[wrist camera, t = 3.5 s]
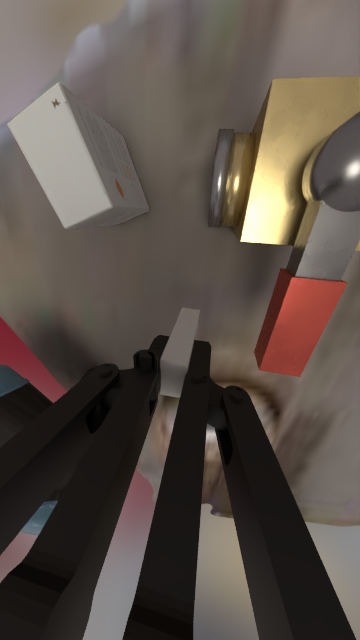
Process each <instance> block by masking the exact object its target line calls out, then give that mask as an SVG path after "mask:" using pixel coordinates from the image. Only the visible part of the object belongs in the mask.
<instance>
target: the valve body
mask: <svg viewBox="0 0 360 640" xmlns="http://www.w3.org/2000/svg"><path fill="white" fill-rule="evenodd" d="M358 112H360V76H350V77H318V78H286V79H273V80H272V82H271V85H270V87H269V90H268V93H267V95H266V98H265V100H264V103H263V105H262V108H261V110H260V113H259V116H258V118H257V121H256V123H255V126H254V128H253V131H252V133H246V132H234V134H233V141H232V149H231V156H230V163H229V170H228V177H227V184H226V191H225V198H224V204H223V211H222V217H221V224H220V226H234V229H233V234H234V235H235V236H236V237H237V238H238V239H239V240H240V241H242V242H255V243H267V244H280V245H293V246H294V244H295V241H296V238H297V235H298V232H299V229H300V226H301V223H302V220H303V217H304V214H305V210H306V207H307V204H308V203H307V201H306V199H305V197H304V194H303V190H302V179H303V173H304V170H305V167H306V164H307V162H308V160H309V158H310V156H311V154H312V153H313V151H314V150H315V148H316V147H317V146H318V145H319V144H320V142H321V141H322V140H323V139H324V138H325V137H326V136H328V135H329V134H330V133H331V132H333V131H334V130H335V129H337V128H338V127H339V126H341V125H342V124H343V123H345V122H346V121H347V120H349V119H350V118H351V117H353V116H354V115H355V114H357V113H358ZM355 250H357V251H360V241H359V243H358V245H357V247H356V249H355Z"/></svg>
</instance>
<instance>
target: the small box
mask: <svg viewBox="0 0 360 640" xmlns="http://www.w3.org/2000/svg"><path fill="white" fill-rule="evenodd" d="M7 125H8V127H9V129H10V131H11V132H12V134H13V136H14V138H15V140H16V141H17V143H18V145H19V147H20V149H21V151H22V152H23V154H24V156H25V158H26V159H27V161H28V163H29V165H30V167H31V168H32V170H33V172H34V174H35V176H36V177H37V179H38V181H39V183H40V185H41V187H42V188H43V190H44V192H45V194H46V196H47V197H48V199H49V201H50V203H51V205H52V207H53V208H54V210H55V212H56V214H57V216H58V217H59V219H60V221H61V223H62V225H63V227H64V228H65V229H79V228H90V227H102V226H113V225H118V224H121V223H123V222H125V221H128V220H130V219H132V218H134V217H137V216H139V215H141V214H143V213H146V212H148V211H150V209H149V206H148V203H147V201H146V198H145V195H144V192H143V189H142V187H141V184H140V181H139V178H138V176H137V173H136V170H135V167H134V165H133V162H132V159H131V157H130V154H129V151H128V148H127V145H126V142H125V139H124V137H123V136H122V135H121V134H120V133H119V132H117V131H116V130H115V129H114V128H113V127H112V126H111V125H109V124H108V123H107V122H106V121H105V120H103V119H102V118H101V117H100V116H99V115H98V114H96V113H95V112H94V111H93V110H92V109H90V108H89V107H88V106H87V105H86V104H85V103H83V102H82V101H81V100H80V99H79V98H78V97H76V96H75V95H74V94H73V93H72V92H71V91H69V90H68V89H67V88H66V87H65V86H63V85H62V84H61V83H60V82H58V83H56V84H55V85H54V86H53V87H51V88H50V89H49V90H48V91H46V92H45V93H44V94H43V95H41V96H40V97H39V98H38V99H37V100H35V101H34V102H33V103H32V104H30V105H29V106H28V107H27V108H26V109H24V110H23V111H22V112H21V113H19V114H18V115H17V116H16V117H15V118H13V119H12V120H11V121H10V122H9V123H8V124H7Z"/></svg>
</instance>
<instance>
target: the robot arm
mask: <svg viewBox="0 0 360 640" xmlns="http://www.w3.org/2000/svg"><path fill="white" fill-rule="evenodd" d="M199 315H200V310H197V309H189V308H182V309H181V312H180V314H179V316H178V319H177V321H176V323H175V326H174V328H173V330H172V333H171V335H170V336H163V335H159V336H157V337H156V338H154V340H153V342H152V344H151V346H150V348H149V349H148V350H140V351H138V352H136V353H135V354H134V355H133V357H134V368H132V369H126V370H119V369H118V367H117V366H116V365H114V364H104V365H101V366H99V367H97V368H93V369H91V370H89V371H88V372H87V373H86V374H85V375H84V376H83V377H82V379H81V380H80V381H79V383H78V384H76V385H75V386H74V387H73V388H72V389H70V390H69V391H68V392H67V393H66V394H64V395H63V396H62V397H61V398H60V399H58V400H57V401H56V402H55V403H53V402H51V401H50V400H49V399H48V398H47V397H46V396H44V395H43V394H42V393H41V392H40V391H39V390H38V389H36V388H35V387H34V386H33V385H32V384H31V383H29V380H28V379H24V378H23V377H22V376H20V375H19V374H18V373H17V372H15V371H14V370H13V369H11V368H10V367H8V366H6V365H0V555H1V554H2V553H3V551H4V550H5V549H6V548H7V547H8V545H9V544H10V543H11V542H12V541H13V539H14V538H15V537H16V536H17V534H18V533H19V532H23V533H27V534H33V535H38V537H37V539H36V541H35V542H34V544H33V546H32V548H31V549H30V551H29V553H28V554H27V556H26V557H25V558H24V559H23V561H22V562H21V563H20V564H19V565H17V566H16V567H15V568H14V569H13V570H12V571H11V572H9V573H8V574H7V576H6V577H5V578H4V579H3V580H2V582H1V583H0V640H82V639H83V636H84V633H85V630H86V626H87V623H88V619H89V615H90V611H91V606H92V600H93V595H94V591H95V588H96V585H97V581H98V579H99V576H100V573H101V570H102V567H103V564H104V561H105V558H106V555H107V552H108V549H109V546H110V542H111V540H112V537H113V534H114V531H115V528H116V525H117V522H118V519H119V516H120V513H121V510H122V507H123V504H124V501H125V498H126V495H127V492H128V489H129V486H130V483H131V480H132V477H133V474H134V471H135V468H136V465H137V462H138V459H139V456H140V453H141V450H142V447H143V444H144V441H145V438H146V435H147V432H148V430H149V427H150V424H151V421H152V418H153V415H154V412H155V409H156V406H157V403H158V394H159V391H160V394H161V395H166V396H171V397H176V398H180V400H179V405H178V409H177V413H176V418H175V422H174V427H173V431H172V436H171V440H170V444H169V449H168V453H167V458H166V462H165V466H164V471H163V475H162V480H161V484H160V488H159V493H158V497H157V502H156V506H155V510H154V515H153V519H152V524H151V528H150V533H149V537H148V541H147V546H146V550H145V555H144V560H143V563H142V568H141V572H140V577H139V581H138V585H137V590H136V594H135V598H134V601H133V605H132V608H131V611H130V614H129V617H128V621H127V625H126V628H125V632H124V636H123V640H193V617H194V600H195V586H196V570H197V557H198V543H199V528H200V514H201V500H202V485H203V471H204V457H205V442H206V428H207V423H208V424H210V425H211V426H213V427H215V432H216V436H217V441H218V446H219V451H220V455H221V460H222V465H223V470H224V474H225V479H226V484H227V489H228V493H229V498H230V503H231V508H232V512H233V517H234V522H235V526H236V531H237V536H238V541H239V545H240V550H241V555H242V560H243V564H244V569H245V574H246V579H247V583H248V588H249V593H250V598H251V602H252V606H253V612H254V617H255V621H256V626H257V631H258V635H259V640H356V638H355V636H354V633H353V631H352V629H351V627H350V624H349V622H348V620H347V617H346V615H345V613H344V611H343V608H342V606H341V604H340V601H339V599H338V597H337V595H336V592H335V590H334V588H333V585H332V583H331V581H330V579H329V577H328V574H327V572H326V569H325V567H324V565H323V563H322V560H321V558H320V556H319V553H318V551H317V549H316V547H315V544H314V542H313V540H312V538H311V535H310V533H309V531H308V529H307V526H306V524H305V522H304V519H303V517H302V515H301V512H300V510H299V508H298V506H297V503H296V501H295V499H294V496H293V494H292V492H291V490H290V487H289V485H288V483H287V480H286V478H285V476H284V474H283V471H282V469H281V467H280V464H279V462H278V460H277V458H276V455H275V453H274V451H273V448H272V446H271V444H270V442H269V439H268V437H267V435H266V433H265V430H264V428H263V426H262V423H261V421H260V419H259V417H258V414H257V412H256V410H255V407H254V405H253V403H252V401H251V398H250V396H249V395H248V393H247V392H246V391H245V390H244V389H242V388H240V387H238V386H227V387H226V388H223V387H221V386H219V385H217V384H215V383H214V382H213V381H212V379H211V378H210V359H211V345H210V344H209V342H205V341H199V340H196V339H197V332H198V323H199Z"/></svg>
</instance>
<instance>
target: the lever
mask: <svg viewBox="0 0 360 640" xmlns="http://www.w3.org/2000/svg"><path fill="white" fill-rule="evenodd" d="M302 190H303V194H304V197H305V199H306V201H307V203H308V204H307V207H306V210H305V214H304V217H303V220H302V223H301V226H300V229H299V232H298V235H297V238H296V241H295V244H294V247H293V250H292V253H291V256H290V259H289V262H288V265H287V268H286V269H283V268H281V269H280V272H279V275H278V279H277V282H276V285H275V288H274V291H273V294H272V297H271V301H270V304H269V307H268V310H267V313H266V316H265V320H264V323H263V326H262V329H261V332H260V335H259V339H258V342H257V345H256V348H255V351H254V353H255V357H256V360H257V364H258V368H259V370H261V371H268V372H274V373H280V374H286V375H292V376H298V377H300V375H301V373H302V371H303V369H304V368H305V366H306V364H307V362H308V360H309V358H310V356H311V354H312V352H313V350H314V348H315V346H316V344H317V342H318V340H319V338H320V336H321V334H322V332H323V330H324V328H325V326H326V324H327V322H328V320H329V318H330V316H331V315H332V313H333V311H334V309H335V307H336V305H337V303H338V301H339V299H340V297H341V295H342V293H343V291H344V289H345V287H346V285H347V282H345V281H343V280H341V278H342V276H343V274H344V272H345V270H346V268H347V266H348V263H349V261H350V259H351V257H352V255H353V253H354V251H355V249H356V247H357V245H358V243H359V241H360V112H358V113H357V114H355V115H354V116H353V117H351V118H350V119H349V120H347V121H346V122H345V123H343V124H342V125H341V126H339V127H338V128H337V129H335V130H334V131H333V132H331V133H330V134H329V135H328V136H326V137H325V138H324V139H323V140H322V141H321V142H320V144H319V145H318V146H317V147H316V148H315V150H314V151H313V153H312V154H311V156H310V158H309V160H308V162H307V164H306V167H305V170H304V173H303V179H302Z"/></svg>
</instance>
